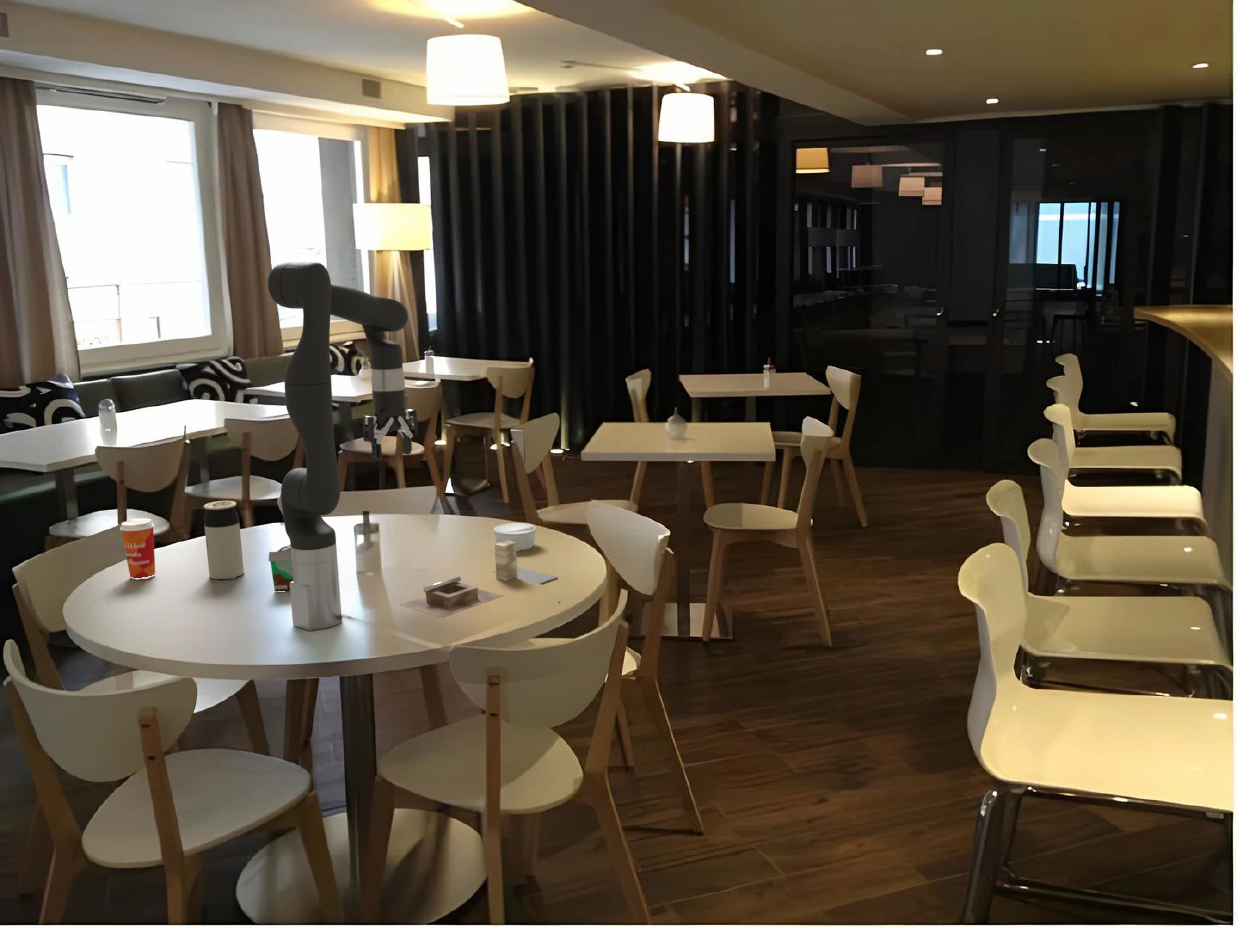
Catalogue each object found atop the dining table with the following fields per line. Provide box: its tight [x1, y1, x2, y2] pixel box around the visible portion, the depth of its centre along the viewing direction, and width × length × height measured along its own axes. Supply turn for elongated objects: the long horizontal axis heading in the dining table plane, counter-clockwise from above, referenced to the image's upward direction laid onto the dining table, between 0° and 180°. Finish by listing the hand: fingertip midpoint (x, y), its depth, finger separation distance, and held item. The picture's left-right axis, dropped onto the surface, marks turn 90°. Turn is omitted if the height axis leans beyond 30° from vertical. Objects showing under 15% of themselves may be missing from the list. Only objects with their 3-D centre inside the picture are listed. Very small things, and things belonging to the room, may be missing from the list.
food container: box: [268, 544, 293, 592], centre depth 253 cm, size 12×6×10 cm, turn 168°
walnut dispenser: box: [400, 576, 504, 618], centre depth 238 cm, size 18×14×5 cm
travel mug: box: [203, 500, 245, 580], centre depth 262 cm, size 8×8×18 cm
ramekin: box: [493, 522, 537, 552], centre depth 284 cm, size 11×11×5 cm
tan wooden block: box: [494, 541, 518, 582], centre depth 253 cm, size 4×3×9 cm
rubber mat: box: [491, 566, 559, 585], centre depth 254 cm, size 18×16×1 cm
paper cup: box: [119, 517, 156, 578], centre depth 263 cm, size 8×8×14 cm
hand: (392, 456), depth 252 cm, fingers open, 8 cm apart
